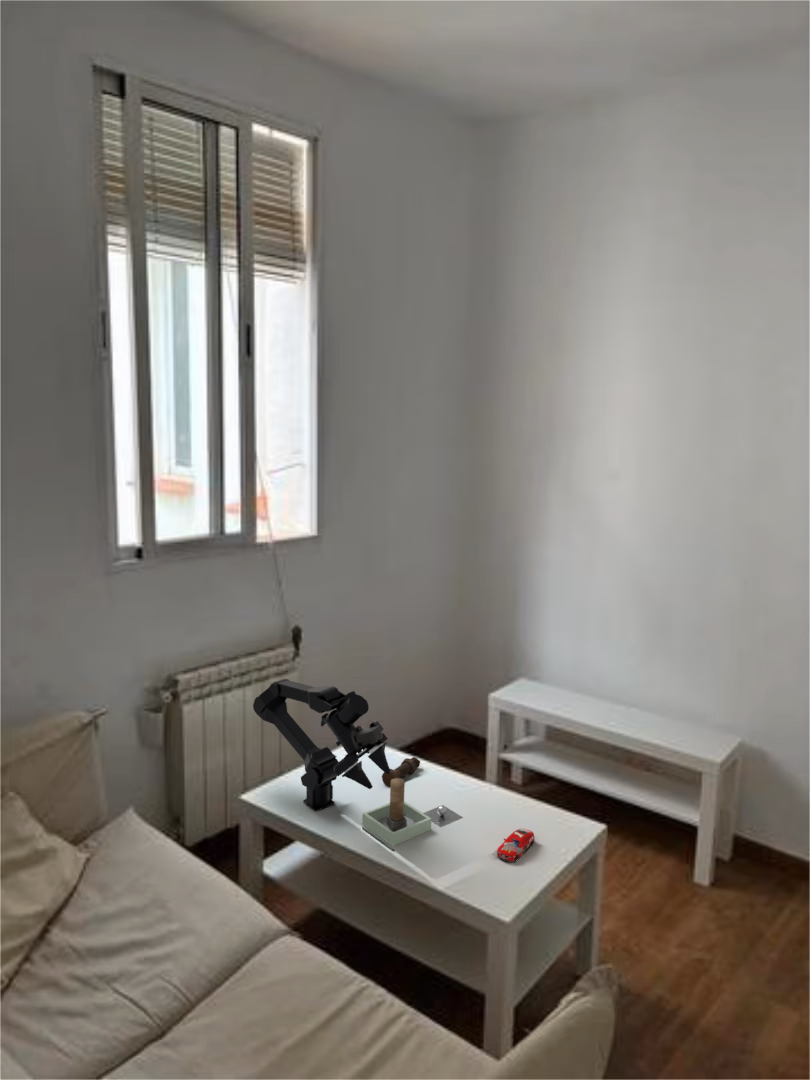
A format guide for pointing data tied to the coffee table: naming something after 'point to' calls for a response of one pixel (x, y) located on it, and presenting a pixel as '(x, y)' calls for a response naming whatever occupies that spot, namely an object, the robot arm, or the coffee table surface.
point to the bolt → (401, 770)
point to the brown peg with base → (396, 806)
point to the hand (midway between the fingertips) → (380, 780)
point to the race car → (516, 845)
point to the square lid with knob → (442, 816)
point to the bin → (400, 835)
